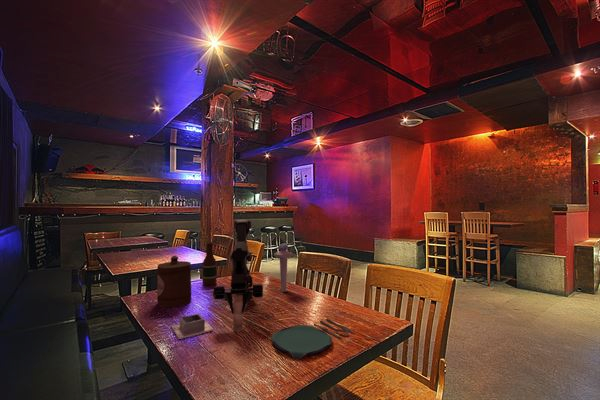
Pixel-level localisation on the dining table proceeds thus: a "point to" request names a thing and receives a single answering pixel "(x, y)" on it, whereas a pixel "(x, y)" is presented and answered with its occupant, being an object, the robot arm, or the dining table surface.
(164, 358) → the dining table surface
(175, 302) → the wooden container
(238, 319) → the wooden post
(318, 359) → the dining table surface
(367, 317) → the dining table surface
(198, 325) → the cup bracket
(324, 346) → the cutlery set
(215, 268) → the beer bottle
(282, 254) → the novelty light stick
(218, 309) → the dining table surface
